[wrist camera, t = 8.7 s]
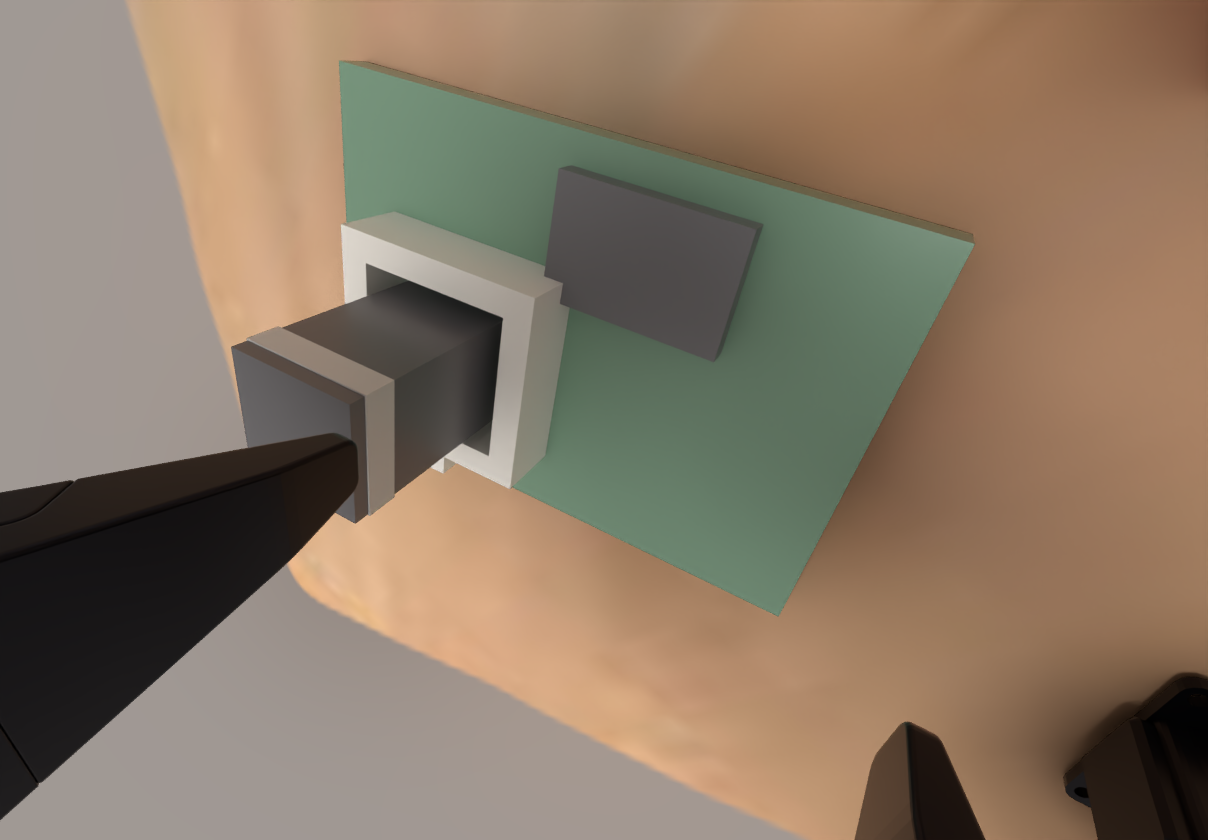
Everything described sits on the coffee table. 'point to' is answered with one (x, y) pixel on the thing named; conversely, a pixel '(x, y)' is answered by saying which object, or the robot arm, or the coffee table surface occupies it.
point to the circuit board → (646, 318)
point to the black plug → (375, 383)
